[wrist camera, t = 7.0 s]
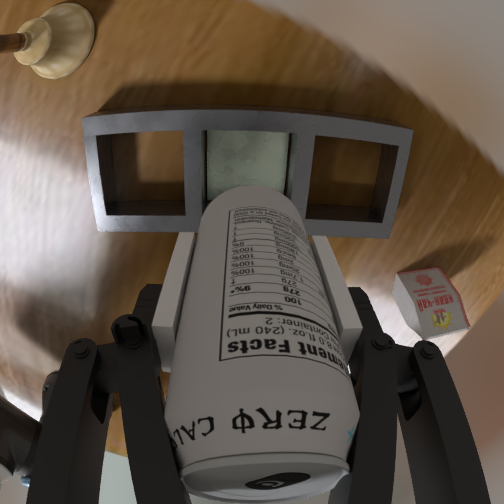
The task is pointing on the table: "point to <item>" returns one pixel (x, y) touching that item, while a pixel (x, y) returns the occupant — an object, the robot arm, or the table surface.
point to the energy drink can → (258, 360)
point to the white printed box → (429, 303)
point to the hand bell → (53, 41)
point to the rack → (244, 164)
